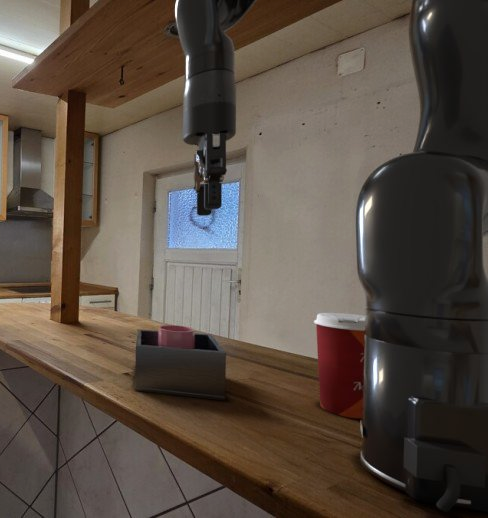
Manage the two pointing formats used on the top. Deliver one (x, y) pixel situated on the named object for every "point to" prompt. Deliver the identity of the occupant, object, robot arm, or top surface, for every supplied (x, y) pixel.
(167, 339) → the pink cup
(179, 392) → the grey storage bin
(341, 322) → the paper cup
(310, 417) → the top surface
